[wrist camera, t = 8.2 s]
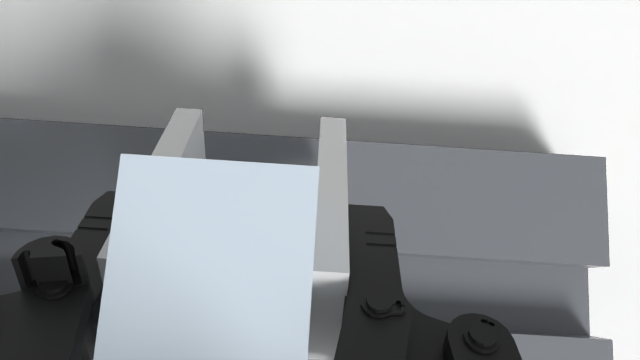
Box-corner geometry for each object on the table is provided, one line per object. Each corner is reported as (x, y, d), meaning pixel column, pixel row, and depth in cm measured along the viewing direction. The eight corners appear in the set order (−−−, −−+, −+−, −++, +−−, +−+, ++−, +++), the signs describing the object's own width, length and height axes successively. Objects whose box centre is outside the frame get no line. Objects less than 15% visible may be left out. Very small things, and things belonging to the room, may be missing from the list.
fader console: (-188, 392, 20) (-276, 410, 17) (-129, 129, 22) (-199, 104, 19) (572, 438, 20) (618, 465, 17) (566, 174, 22) (607, 156, 19)
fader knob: (197, 351, 19) (69, 425, 9) (211, 207, 20) (110, 125, 10) (313, 358, 19) (318, 440, 9) (322, 214, 20) (335, 140, 10)
